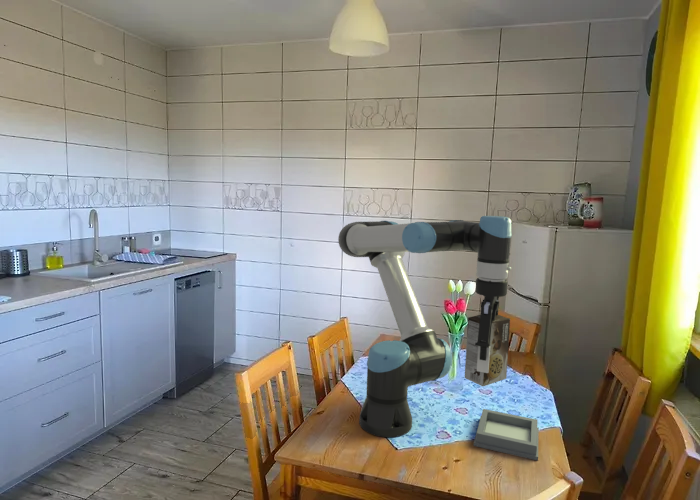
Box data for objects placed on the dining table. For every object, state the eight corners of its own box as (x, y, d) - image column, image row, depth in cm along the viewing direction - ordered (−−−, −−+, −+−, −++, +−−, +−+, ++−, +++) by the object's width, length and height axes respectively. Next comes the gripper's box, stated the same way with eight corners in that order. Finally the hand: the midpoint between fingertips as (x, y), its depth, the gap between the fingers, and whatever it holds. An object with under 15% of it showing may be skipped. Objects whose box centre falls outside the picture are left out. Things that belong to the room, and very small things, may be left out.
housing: (473, 445, 125) (474, 433, 125) (480, 418, 140) (481, 407, 139) (537, 460, 119) (539, 447, 119) (538, 430, 134) (539, 419, 134)
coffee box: (486, 370, 125) (491, 311, 123) (507, 379, 119) (511, 318, 117) (463, 378, 120) (466, 316, 118) (483, 387, 114) (487, 323, 112)
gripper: (501, 289, 104) (495, 383, 107) (512, 272, 125) (506, 352, 128) (467, 285, 107) (462, 377, 110) (483, 270, 128) (478, 347, 131)
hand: (486, 364), depth 119 cm, fingers closed on coffee box, 10 cm apart
